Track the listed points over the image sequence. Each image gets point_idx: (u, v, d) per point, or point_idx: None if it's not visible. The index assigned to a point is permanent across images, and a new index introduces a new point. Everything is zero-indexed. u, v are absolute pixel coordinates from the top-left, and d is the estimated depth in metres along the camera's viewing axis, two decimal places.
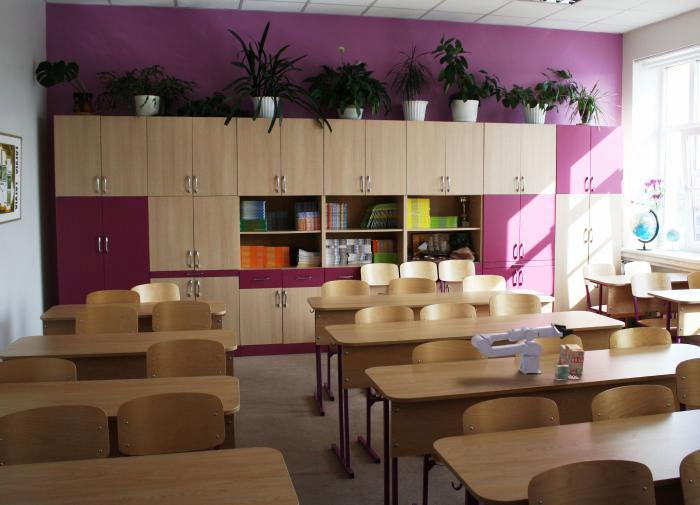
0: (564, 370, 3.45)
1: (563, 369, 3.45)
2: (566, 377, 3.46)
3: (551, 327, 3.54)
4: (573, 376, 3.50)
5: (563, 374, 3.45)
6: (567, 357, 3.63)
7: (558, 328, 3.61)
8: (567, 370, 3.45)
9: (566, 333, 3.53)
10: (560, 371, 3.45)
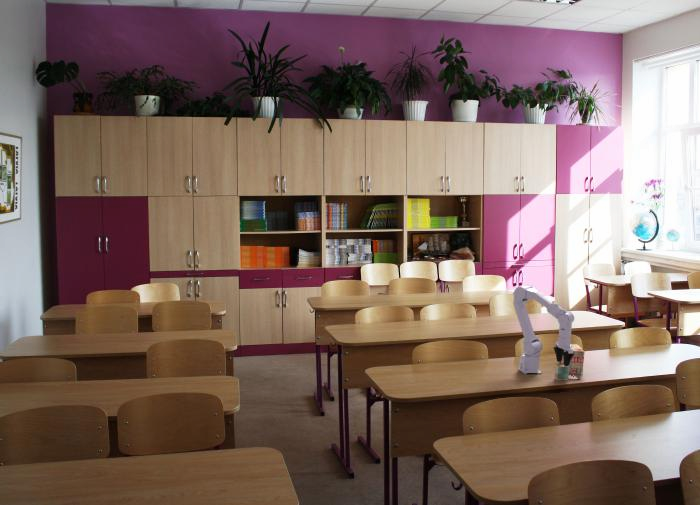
0: (564, 370, 3.45)
1: (563, 369, 3.45)
2: (566, 377, 3.46)
3: None
4: (573, 376, 3.50)
5: (563, 374, 3.45)
6: None
7: (559, 353, 3.49)
8: (567, 370, 3.45)
9: (566, 358, 3.41)
10: (560, 371, 3.45)
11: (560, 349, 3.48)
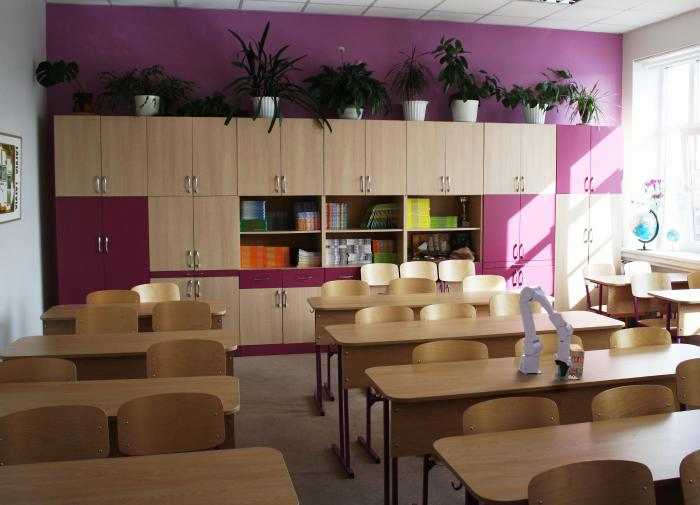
0: None
1: None
2: (566, 377, 3.46)
3: None
4: (573, 376, 3.50)
5: None
6: None
7: None
8: None
9: (563, 369, 3.44)
10: None
11: (561, 362, 3.47)
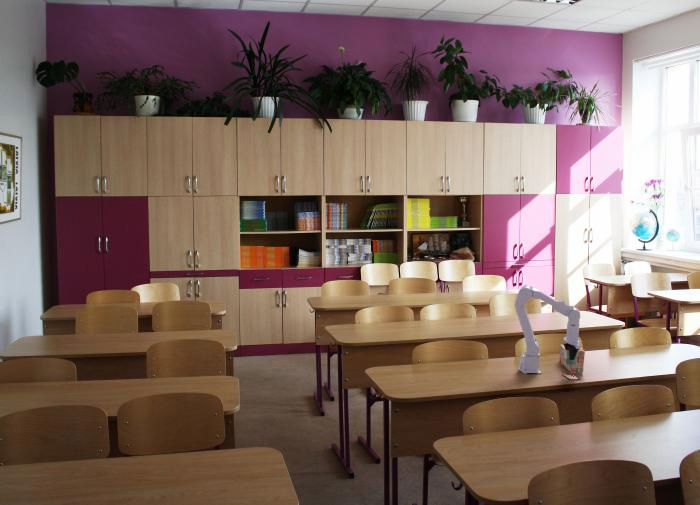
0: None
1: None
2: (575, 362, 3.50)
3: None
4: (573, 376, 3.50)
5: None
6: None
7: None
8: (576, 355, 3.50)
9: (572, 352, 3.48)
10: None
11: (570, 346, 3.51)
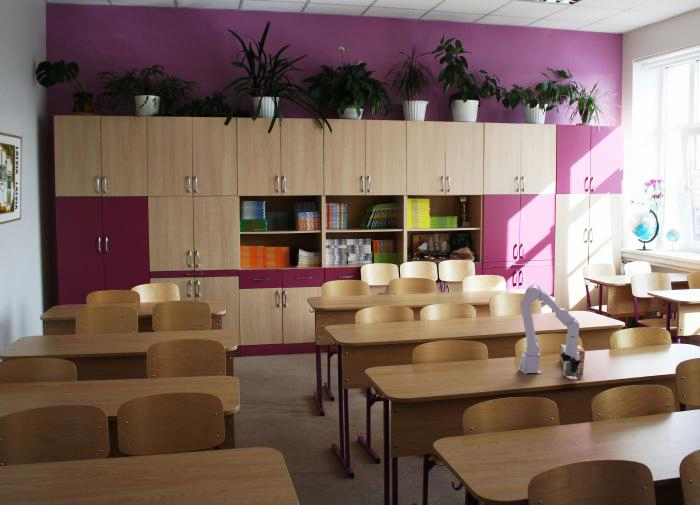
0: None
1: None
2: (574, 373, 3.51)
3: None
4: (573, 376, 3.50)
5: None
6: None
7: (566, 360, 3.55)
8: None
9: (573, 365, 3.47)
10: (568, 367, 3.50)
11: (567, 356, 3.55)
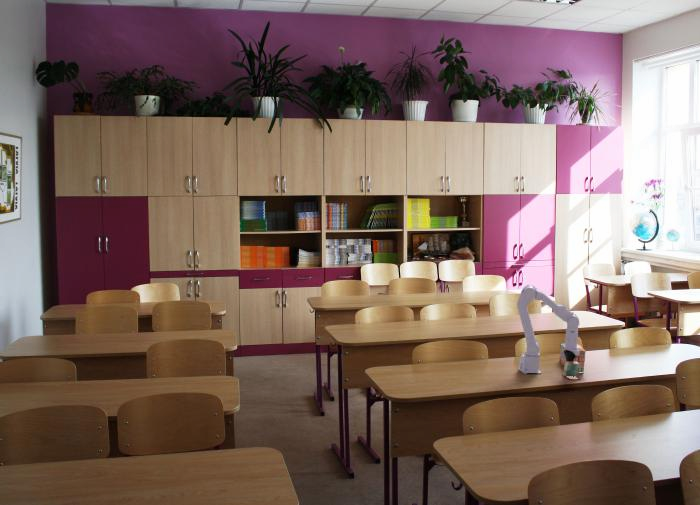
0: (573, 367, 3.49)
1: (572, 366, 3.49)
2: (574, 373, 3.51)
3: (576, 345, 3.50)
4: (573, 376, 3.50)
5: (571, 371, 3.50)
6: None
7: None
8: (576, 367, 3.50)
9: (569, 358, 3.51)
10: (569, 368, 3.49)
11: None
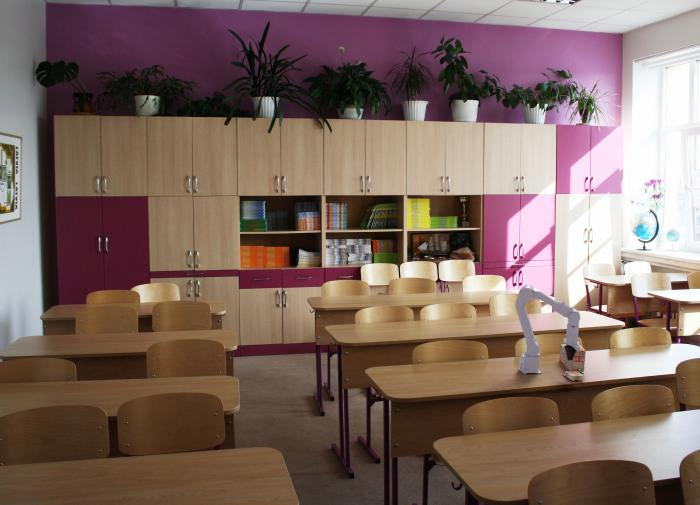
0: None
1: None
2: None
3: (577, 340, 3.49)
4: None
5: None
6: None
7: None
8: None
9: (570, 353, 3.50)
10: None
11: None
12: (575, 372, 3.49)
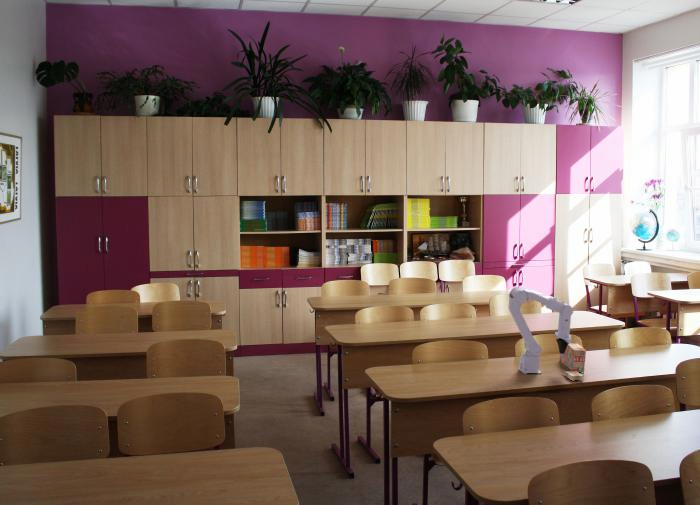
0: None
1: None
2: None
3: None
4: None
5: None
6: (568, 356, 3.64)
7: None
8: None
9: (562, 346, 3.55)
10: None
11: None
12: (575, 372, 3.49)
